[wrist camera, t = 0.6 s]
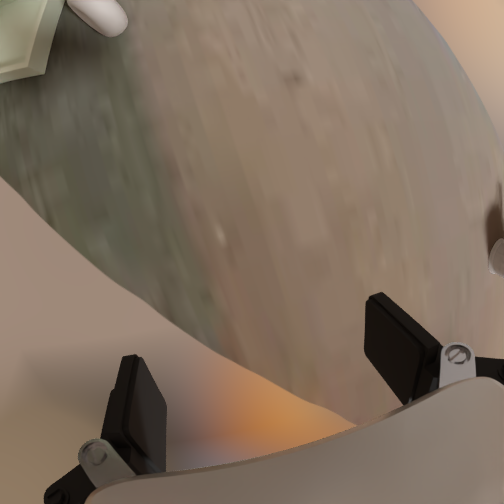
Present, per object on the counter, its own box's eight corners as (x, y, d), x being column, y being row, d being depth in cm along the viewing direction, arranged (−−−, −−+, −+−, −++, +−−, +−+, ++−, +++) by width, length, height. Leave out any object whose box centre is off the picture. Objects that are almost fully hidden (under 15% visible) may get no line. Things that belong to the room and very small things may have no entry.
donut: (139, 32, 28) (124, -1, 19) (120, 50, 29) (98, 22, 19) (95, 1, 25) (73, -32, 15) (77, 18, 25) (50, -11, 16)
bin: (-4, 6, 19) (-19, -2, 14) (71, -17, 22) (60, -31, 18) (-29, 91, 24) (-47, 88, 19) (44, 74, 27) (27, 66, 22)
